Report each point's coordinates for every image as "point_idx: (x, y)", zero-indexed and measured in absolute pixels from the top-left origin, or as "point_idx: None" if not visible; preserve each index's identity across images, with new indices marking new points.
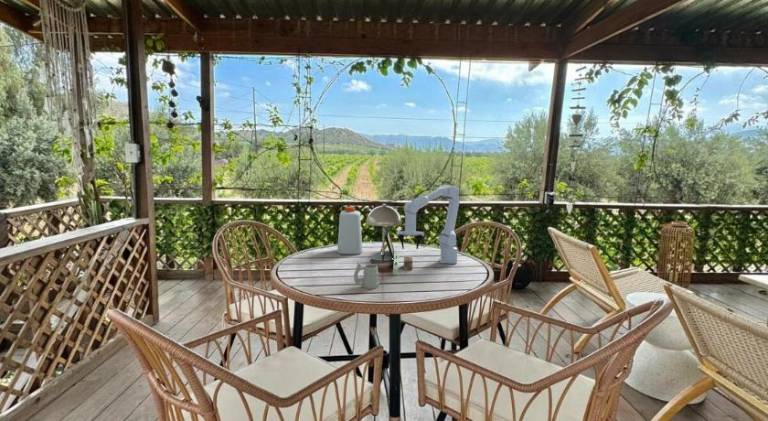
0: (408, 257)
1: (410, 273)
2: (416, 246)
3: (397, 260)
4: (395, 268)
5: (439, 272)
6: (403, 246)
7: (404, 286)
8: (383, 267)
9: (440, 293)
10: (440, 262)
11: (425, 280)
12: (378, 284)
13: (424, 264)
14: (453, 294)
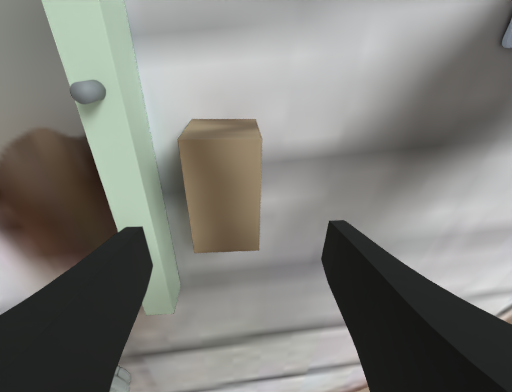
0: (224, 162)
1: (242, 260)
2: (337, 246)
3: (129, 167)
4: (157, 310)
5: (398, 231)
6: (141, 302)
7: (221, 362)
8: (54, 188)
9: (327, 379)
10: (508, 44)
11: (302, 317)
12: (129, 389)
13: (357, 84)
14: (361, 378)
